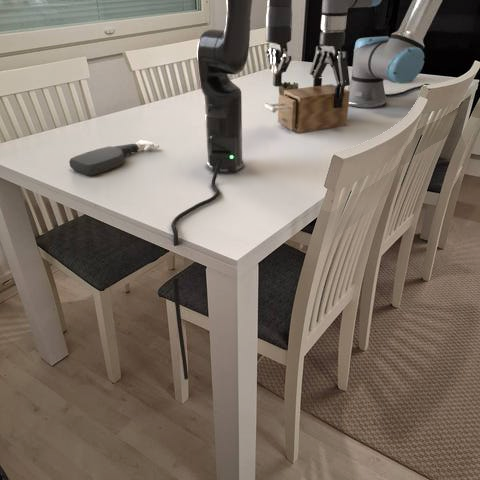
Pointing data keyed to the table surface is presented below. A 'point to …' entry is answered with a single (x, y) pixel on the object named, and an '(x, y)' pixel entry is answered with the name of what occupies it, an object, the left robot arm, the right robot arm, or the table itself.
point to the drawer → (286, 111)
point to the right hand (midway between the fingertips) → (326, 102)
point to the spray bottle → (106, 157)
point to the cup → (287, 87)
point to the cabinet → (319, 107)
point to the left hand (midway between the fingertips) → (277, 85)
